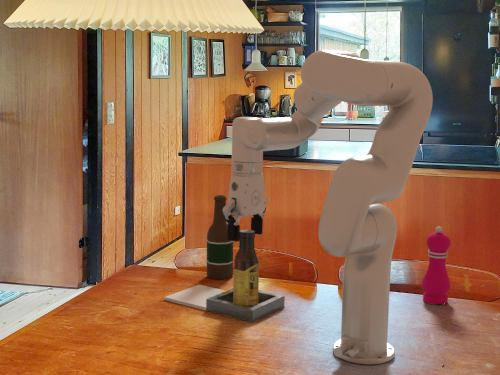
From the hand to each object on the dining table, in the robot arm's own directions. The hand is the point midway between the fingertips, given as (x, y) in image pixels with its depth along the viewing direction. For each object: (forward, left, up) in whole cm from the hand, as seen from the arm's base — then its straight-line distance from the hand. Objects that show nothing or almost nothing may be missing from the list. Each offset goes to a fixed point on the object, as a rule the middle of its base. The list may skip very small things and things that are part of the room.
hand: (245, 237), depth 161 cm
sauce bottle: (0, 0, -19) cm, 19 cm away
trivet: (0, +14, -18) cm, 23 cm away
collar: (0, 0, -18) cm, 18 cm away
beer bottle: (+19, +23, -19) cm, 35 cm away
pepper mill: (+35, -36, -19) cm, 54 cm away
